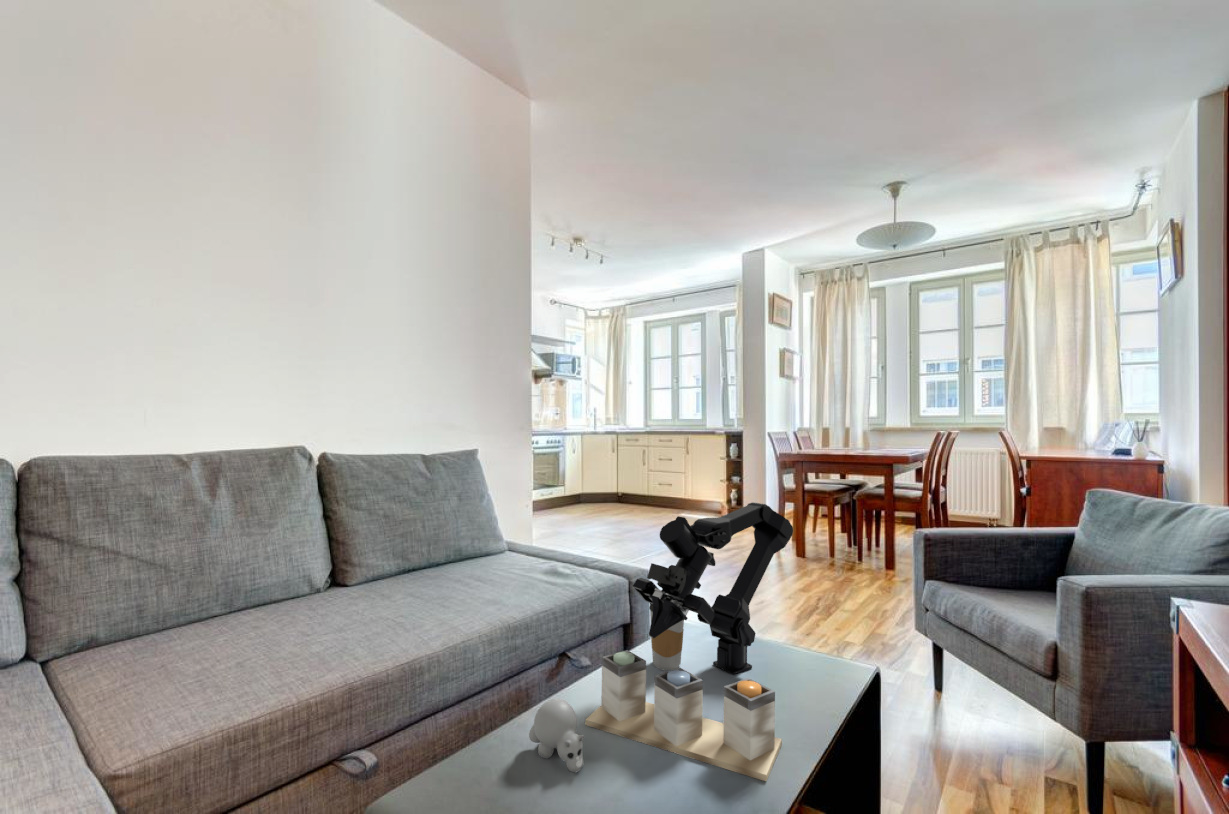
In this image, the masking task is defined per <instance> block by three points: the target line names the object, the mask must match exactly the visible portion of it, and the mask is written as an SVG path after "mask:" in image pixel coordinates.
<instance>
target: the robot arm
mask: <svg viewBox="0 0 1229 814" xmlns="http://www.w3.org/2000/svg"><path fill="white" fill-rule="evenodd" d="M751 527H752V528H753V529H754V530H753V537H754V544H753V547H752V549H751V551H750V553H749V554H748V556H747V559H746V560H745V562H744V564H743V566H742V568H741V570H740V572H739V574H738V576H737V577H736V580H735V582H734V584H733V585H732V587H731V590H730V591H729V593H727V594H725V595H722V594H718V595H717V596H716V598H715V600H714V602H713V604H712V606H711V605H710V603H708V602H707V600H706V599H705V598H704V597H701V596H698V595H696V594H693V592H694V590H695V589H697V590H700V588H701V586H702V584H701V583H700V580H701V577H702V576H703V575H704V572H705V570H706V569H707V567H708V566H711V567H716V560H715V557H714V552H710V551H708V549H707V548H711V549H715V550H722V549H723V548H724V547H726V546H727V545H728V544H729V543H731V542H732V537H733V536H734V535H736V534H738V533H741V532H742V531H745V530H746V529H749V528H751ZM793 533H794V526H792V524H791V522H790V520H789V519H788V518H786V517H785V516H783V515H781V514H780V513H778V512H776V511H774V509H773V508H772V507H771V506H769V505H768V504H766V503H761V502H760V503H758V502H750V503H747V504H746V505H745V506H743V507H740V508H738V509H735V510H734V511H731V512H729V513H727V514H725V515H722V516H720V517H719V516H717V517H704V518H698V519H697V520H694V522H693V524H691V525H690V524H689V521H688V520H687V518H686V517H684V516H679V515H678V516H676V518H675V520H671V521H669V522H668V523H666V524H664V525H663V526H662V527H661V529H660V530H659V538H660V540H661V542H662V543H663V544H664V545H665V546H666V547H667V549H668V550H669V551H670V552H671V553H672V554H673V556H674V557H675V558H677V559H678V561H677V562H676V563H675V565H673V564H671V565H669V566H668V567H666V566H663V565H659V564H657V563H650V567H649V570H648V573H647V576H646V578H643V577H639V578H636V580H635V581H634V583H633V585H632V586H631V588H632V589H633V590H634V591H635V592H636V593H637V594H638V595H639V597H640V598H642V600H644V602H647V603H648V604H650V603H651V604H653V615H652V620H651V619H650V626H649V631H648V635H649V636H650V638H651V637H652V638H656V637H657V636H658V635H660V634H661V633H663V632H664V631H666V630H667V629H669V628H670V627H672V626H673V625H675V624H677V623H679V622H680V621H682V620H684V621H687V620H688V619H689V618H688V617H687V615H688V613H689V612H693V613H696V614H697V620H698V621H699V622H701V623H702V624H703V623H704V624H706V625H708V626H709V629H710V633H711V636H712V637H714V638H718V640H717V647H716V649H717V650H716V660H715V661H713V662H712V665H714V666H715V667H717V668H719V669H722V671H725V672H728V673H729V674H730V675H731V674H732V675H735V674H736V675H737V674H738V673H742V672H744V671H747V670H750V669H752V668H753V665H752V664H750V663H748V647H751V646H752V644H753V643H755V639H756V638H755V637H756V631H755V630H754V629H753V627H752V626H751V625H750V620H751V613H750V603H751V601H752V599H753V597H754V596H755V594H756V592H757V590H758V587H759V585H760V583H761V581H762V579H763V577H764V575H765V573H766V570H768V566H769V565H770V562H771V560H772V558H773V557H774V555H775V554H777V552H779V551H782V549H784V548H786V546H787V545H788V543H789V541H790V540H791V538H792V536H793ZM653 581H656V584H655V583H654V582H653ZM657 586H658V587H657ZM660 588H661V589H660ZM667 597H668V598H667Z"/></svg>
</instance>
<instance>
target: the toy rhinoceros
mask: <svg viewBox="0 0 1229 814" xmlns="http://www.w3.org/2000/svg"><path fill="white" fill-rule="evenodd" d="M533 721H534V722H533V725H532V726H531V728H530V729H529V733H528V737H529V740H530V742H532V743H535V744H539V745H538V747H537V752H538V756H539V757H541V758H543V759H549V758H551V757H552V755H553V753H554V751H555V749H556V750H557V754H558V756H559V759H561V760H562V761H564V762H565V764H566V767H567V769H568V770H569V771H570V772H572V773H578V772H579V771H581V770H582V768H583V767H584V762H585V761H584V757H583V748H584V747H583V745H584V742H583V740H584V739H585V735H584V734H577V733H576V731H577V729H578V728H577V727H578V717H577V713H576V711H575V709H574V707H573V706H572V705H571V704H570V703H569V702H567V701H566V700H564V699H560V698H552V699H549V700H548V701H546V702H544V703H543V704H542V705H541V706H540V707H539V708H538V710H537V711H536V713H535V716H534V720H533Z"/></svg>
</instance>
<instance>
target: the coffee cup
mask: <svg viewBox="0 0 1229 814" xmlns="http://www.w3.org/2000/svg"><path fill="white" fill-rule="evenodd" d="M667 598H668V597H667ZM649 610H650V611H649V613H650V615H649V616H650V621H651V620H652V615H653V604H651V603H649ZM684 624H685V620H682V621H680V622H679V623H677V624H675V625H673V626H672V627H670V628H669V629H667V630H666V631H664V632H663V633H661V634H660V635H658V636H657V637H656V638H652V637H650V639H651V640H650V641H651V651H652V653H651V654H652V663H653V666H654V667H655V668H657V669H659V670H662V671H671V670H674V669H677V668H680V666H681V664H682V663H681V662H682V650H683V641H684V631H685V629H684Z"/></svg>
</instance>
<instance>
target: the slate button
mask: <svg viewBox="0 0 1229 814" xmlns="http://www.w3.org/2000/svg"><path fill="white" fill-rule="evenodd" d="M669 671H670V672H668V671H667V672H668V674H667V681H668V682H670V683H672V684H673V685H675V686H677V687H678V686H681V685H684V684H687V683H690V674H689V673H690V672H689V673H687V672H688V671H687V672H685V671H686V670H685V671H681V670H673V671H671V670H669Z"/></svg>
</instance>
